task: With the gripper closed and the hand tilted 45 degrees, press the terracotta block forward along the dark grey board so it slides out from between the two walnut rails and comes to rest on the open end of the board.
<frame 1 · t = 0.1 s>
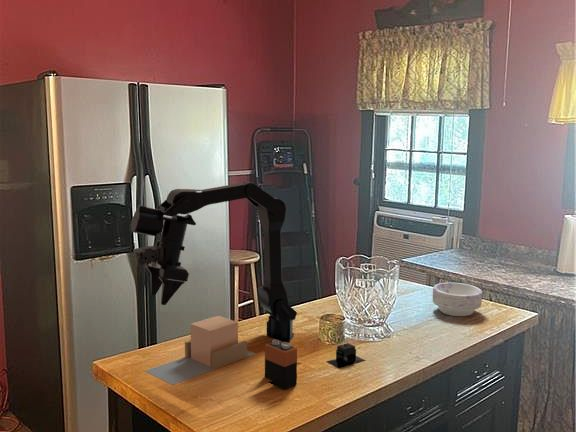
hand: (158, 299, 154), 15 cm above the kitchen island, tool pointing down, fingers open, 9 cm apart
white marble bowl: (456, 312, 197), on the kitchen island
battery: (280, 384, 142), on the kitchen island
chute: (202, 366, 151), on the kitchen island
block: (214, 357, 154), point 1 cm above the kitchen island, touching chute
black rectangular piece: (345, 363, 156), on the kitchen island
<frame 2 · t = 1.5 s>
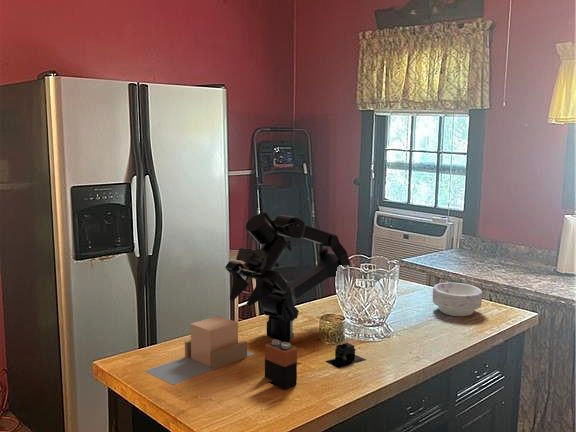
hand: (239, 302, 158), 14 cm above the kitchen island, tool tilted 45°, fingers open, 6 cm apart
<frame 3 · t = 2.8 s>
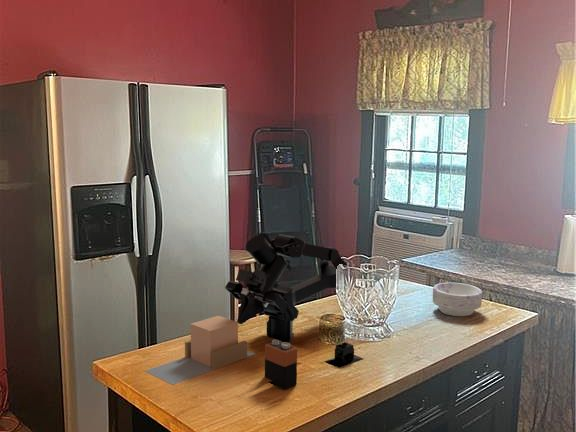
hand: (239, 323, 159), 8 cm above the kitchen island, tool tilted 45°, fingers closed
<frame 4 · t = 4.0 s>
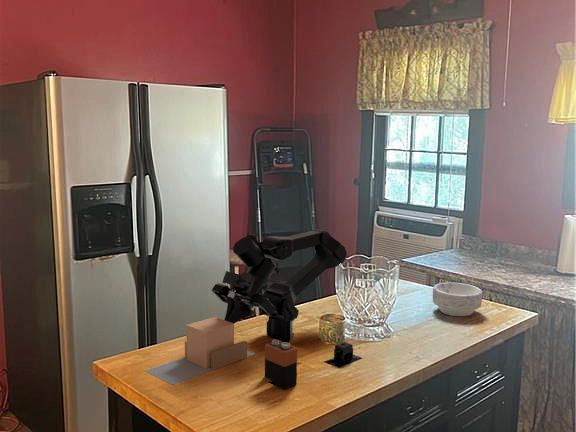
hand: (225, 326, 156), 8 cm above the kitchen island, tool tilted 45°, fingers closed
block: (210, 358, 153), point 1 cm above the kitchen island, touching chute
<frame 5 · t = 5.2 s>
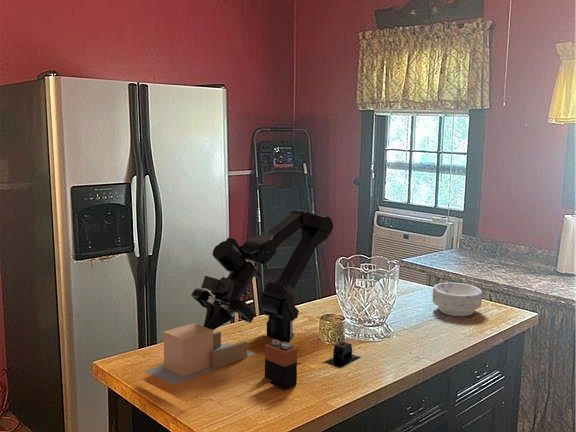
hand: (204, 333, 151), 8 cm above the kitchen island, tool tilted 45°, fingers closed, pressing on block
block: (188, 366, 148), point 1 cm above the kitchen island, touching gripper
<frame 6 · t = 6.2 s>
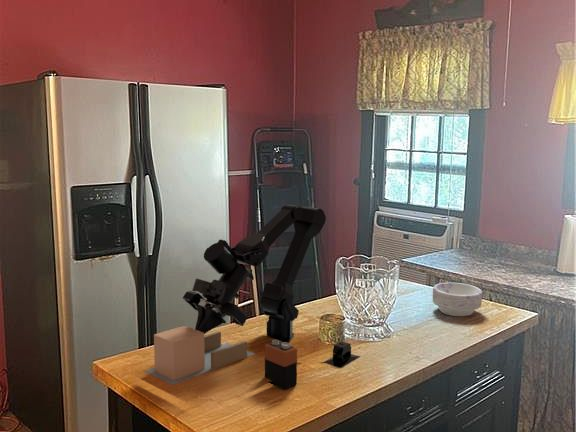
hand: (195, 336, 149), 8 cm above the kitchen island, tool tilted 45°, fingers closed, pressing on block
block: (179, 369, 146), point 1 cm above the kitchen island, touching chute, gripper
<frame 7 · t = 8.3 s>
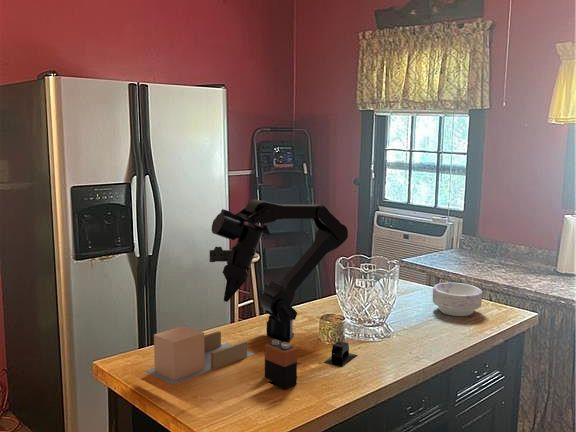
hand: (225, 301, 161), 13 cm above the kitchen island, tool tilted 25°, fingers closed
block: (179, 369, 146), point 1 cm above the kitchen island, touching chute
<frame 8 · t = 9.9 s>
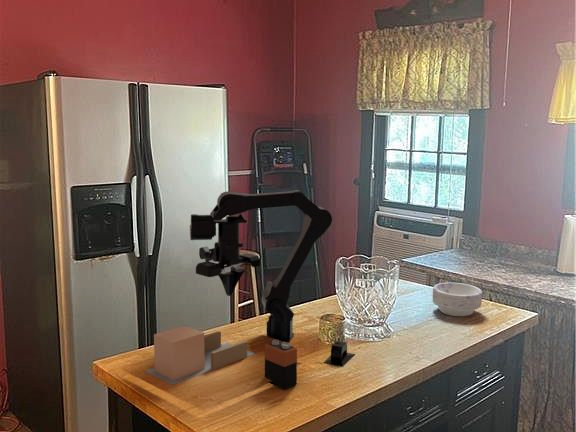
hand: (229, 295, 167), 13 cm above the kitchen island, tool pointing down, fingers closed
at the end: block inside the target area (0.4 cm from its centre), point 1.2 cm above the kitchen island; block tilted 0°; block moved 10.8 cm from its start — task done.
